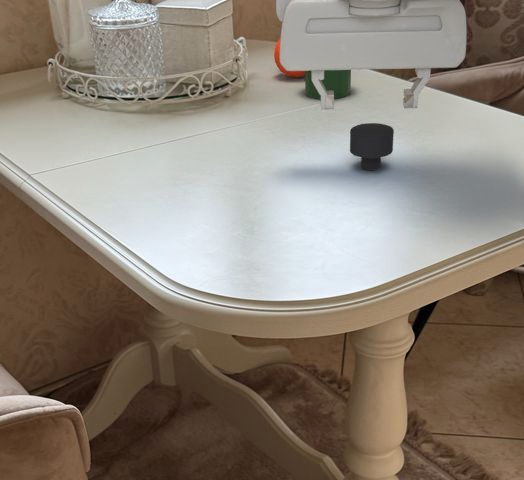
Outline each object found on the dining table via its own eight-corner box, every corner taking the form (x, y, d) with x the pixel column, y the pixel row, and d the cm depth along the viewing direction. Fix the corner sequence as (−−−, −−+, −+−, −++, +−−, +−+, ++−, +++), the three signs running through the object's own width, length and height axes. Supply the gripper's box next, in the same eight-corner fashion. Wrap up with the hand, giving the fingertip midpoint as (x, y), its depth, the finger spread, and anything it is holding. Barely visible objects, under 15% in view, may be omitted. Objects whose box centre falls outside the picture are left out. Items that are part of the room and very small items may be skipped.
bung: (389, 158, 96) (391, 122, 94) (394, 174, 92) (395, 136, 89) (348, 160, 96) (348, 123, 94) (350, 175, 92) (351, 138, 90)
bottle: (349, 85, 123) (350, -36, 113) (351, 98, 117) (353, -28, 107) (305, 87, 123) (303, -34, 113) (305, 100, 117) (303, -26, 108)
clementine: (266, 73, 131) (264, 27, 127) (304, 67, 133) (303, 22, 129) (284, 84, 124) (283, 37, 120) (324, 78, 126) (324, 31, 122)
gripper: (274, -17, 80) (276, 118, 88) (477, -22, 79) (462, 114, 87) (275, -27, 86) (278, 100, 93) (466, -32, 85) (452, 97, 92)
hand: (368, 107), depth 90 cm, fingers open, 8 cm apart
